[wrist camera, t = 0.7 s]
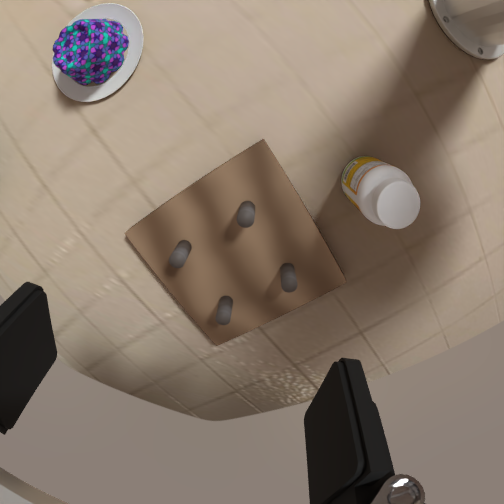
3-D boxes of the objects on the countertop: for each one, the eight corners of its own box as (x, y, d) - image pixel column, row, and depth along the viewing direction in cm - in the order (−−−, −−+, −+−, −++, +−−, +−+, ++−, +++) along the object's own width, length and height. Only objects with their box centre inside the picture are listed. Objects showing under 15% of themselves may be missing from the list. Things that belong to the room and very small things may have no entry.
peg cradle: (263, 138, 31) (263, 142, 26) (344, 275, 36) (354, 298, 32) (129, 228, 35) (111, 245, 30) (217, 338, 41) (212, 364, 36)
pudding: (149, 89, 29) (129, 85, 24) (58, 112, 30) (32, 115, 25) (144, -8, 24) (126, -23, 19) (55, 24, 25) (30, 17, 20)
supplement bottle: (390, 199, 33) (429, 231, 24) (344, 208, 33) (372, 244, 24) (383, 151, 30) (425, 167, 22) (336, 159, 31) (364, 178, 22)
